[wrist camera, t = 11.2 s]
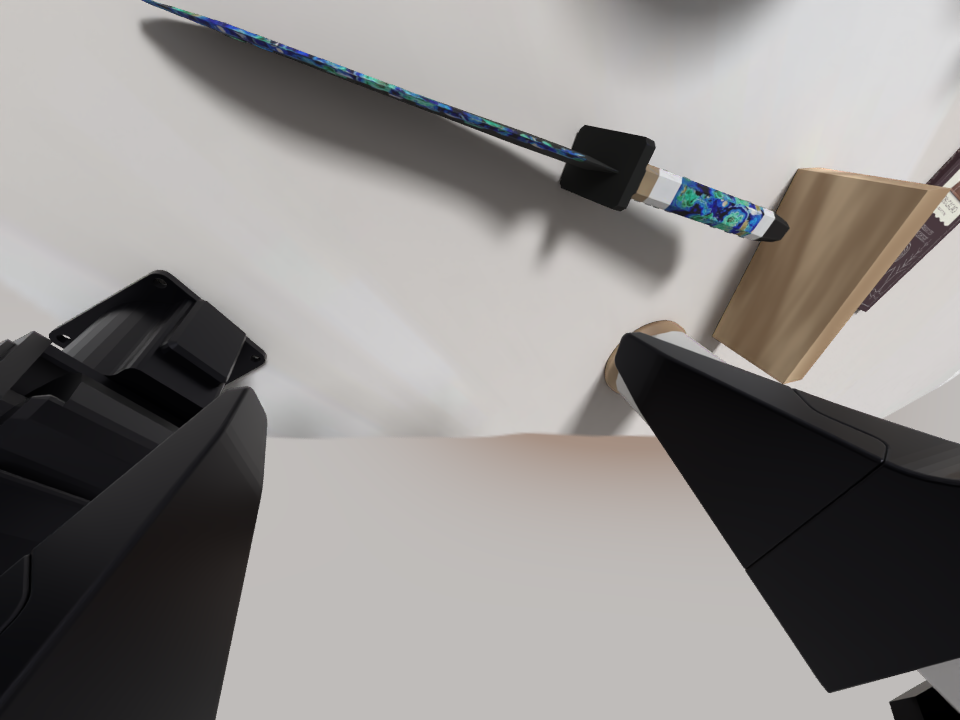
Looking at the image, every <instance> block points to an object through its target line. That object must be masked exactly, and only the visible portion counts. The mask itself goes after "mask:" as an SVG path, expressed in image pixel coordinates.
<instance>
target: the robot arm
mask: <svg viewBox="0 0 960 720" xmlns="http://www.w3.org/2000/svg"><path fill="white" fill-rule="evenodd" d="M157 278H159V279H162V280H164V281H165V282H166V283H167V285H164V284H161V283H159V282H158V281H157ZM63 335H66V336H69V337H70V338H71V339H68V338H66V337H64V336H63ZM49 338H50V340H49V339H47V338H46V337H44V336H42V335H41V334H39V333H37V332H35V331H32V332H30V333H28V334H26V335H24V336H23V337H21V338H19V339H17V340H15V341H13V342H12V341H10V340H8V339H7V340H5V341H2V342H1V343H0V720H215V719H216V714H217V709H218V704H219V699H220V694H221V690H222V685H223V680H224V675H225V670H226V665H227V660H228V655H229V651H230V646H231V641H232V635H233V631H234V626H235V621H236V616H237V611H238V607H239V602H240V597H241V592H242V587H243V582H244V577H245V572H246V567H247V563H248V558H249V553H250V548H251V543H252V538H253V533H254V529H255V523H256V519H257V514H258V509H259V504H260V499H261V493H262V487H263V477H264V463H265V448H266V435H267V417H266V413H265V411H264V409H263V407H262V405H261V403H260V401H259V399H258V397H257V395H256V393H255V392H254V390H253V389H252V388H251V387H248V386H246V387H239V388H232V389H228V390H226V391H224V392H223V393H222V394H221V392H222V390H223V388H224V386H225V385H226V384H228V383H230V382H232V381H233V380H235V379H237V378H239V377H241V376H242V375H244V374H246V373H248V372H249V371H251V370H253V369H255V368H257V367H258V366H260V365H262V364H263V363H264V362H265V359H266V353H265V352H264V351H263V350H262V349H261V348H260V347H259V346H257V345H256V344H255V343H254V342H253V341H251V340H250V339H249V338H248V337H246V334H245V333H244V332H243V331H242V330H241V329H240V328H238V327H237V326H236V325H235V324H234V323H232V322H231V321H230V320H229V319H228V318H226V317H225V316H224V315H223V314H222V313H220V312H219V311H218V310H217V309H216V308H214V307H213V306H212V305H211V304H210V303H208V302H207V301H204V300H202V299H201V298H200V297H198V296H197V295H196V294H195V293H193V292H192V291H191V290H190V289H189V288H187V287H186V286H185V285H184V284H183V283H181V282H180V281H179V280H178V279H177V278H175V277H174V276H173V275H172V274H170V273H168V272H166V271H163V270H156V271H153V272H151V273H149V274H148V275H146V276H144V277H142V278H141V279H139V280H137V281H136V282H134V283H132V284H130V285H129V286H127V287H125V288H124V289H122V290H120V291H118V292H117V293H115V294H113V295H112V296H110V297H108V298H106V299H105V300H103V301H101V302H100V303H98V304H96V305H94V306H93V307H91V308H89V309H88V310H86V311H84V312H82V313H81V314H79V315H77V316H76V317H74V318H72V319H70V320H69V321H67V322H65V323H64V324H62V325H60V326H58V327H57V328H55V329H54V330H53V331H52V332H51V333H50V334H49ZM52 342H53V343H55V344H56V345H58V346H60V347H62V348H63V350H62V351H61V350H59V349H58V348H56V347H54V346H52V345H51V343H52ZM253 355H256V356H258V357H259V358H254V357H252V356H253ZM614 361H615V366H616V368H617V370H618V372H619V374H620V376H621V377H622V379H623V381H624V383H625V385H626V387H627V389H628V391H629V393H630V394H631V396H632V398H633V400H634V402H635V404H636V406H637V407H638V409H639V411H640V413H641V414H642V416H643V417H644V419H645V420H646V422H647V423H648V425H649V426H650V428H651V429H652V431H653V432H654V434H655V435H656V437H657V438H658V440H659V441H660V443H661V444H662V446H663V447H664V449H665V450H666V452H667V453H668V455H669V456H670V458H671V459H672V461H673V462H674V464H675V465H676V467H677V468H678V470H679V471H680V473H681V474H682V476H683V477H684V479H685V480H686V482H687V483H688V485H689V486H690V488H691V489H692V491H693V492H694V494H695V495H696V497H697V498H698V500H699V501H700V503H701V504H702V506H703V507H704V509H705V511H706V512H707V513H708V515H709V516H710V518H711V520H712V521H713V523H714V524H715V525H716V527H717V528H718V530H719V532H720V533H721V535H722V536H723V538H724V539H725V541H726V542H727V544H728V545H729V546H730V548H731V550H732V551H733V553H734V554H735V556H736V557H737V559H738V560H739V562H740V563H741V564H742V566H743V567H744V568H745V571H746V573H747V574H748V576H749V577H750V579H751V580H752V582H753V583H754V585H755V586H756V588H757V589H758V591H759V592H760V594H761V595H762V597H763V598H764V600H765V601H766V602H767V604H768V606H769V607H770V609H771V610H772V612H773V613H774V615H775V616H776V618H777V619H778V621H779V622H780V624H781V625H782V627H783V628H784V630H785V631H786V633H787V634H788V636H789V637H790V639H791V640H792V642H793V643H794V645H795V646H796V648H797V649H798V651H799V652H800V654H801V655H802V657H803V658H804V660H805V661H806V663H807V664H808V666H809V667H810V669H811V670H812V672H813V673H814V675H815V676H816V678H817V679H818V681H819V682H820V683H821V685H822V686H823V687H824V688H825V690H826V691H827V692H828V693H832V692H836V691H840V690H843V689H847V688H851V687H854V686H858V685H861V684H866V683H869V682H873V681H876V680H880V679H884V678H888V677H891V676H895V675H899V674H903V673H906V672H910V671H914V670H917V671H918V672H919V673H920V674H921V675H922V676H923V677H924V678H925V679H926V681H924V682H923V683H921V684H919V685H917V686H916V687H914V688H912V689H910V690H909V691H907V692H905V693H904V694H902V695H900V696H899V697H897V698H895V699H893V700H892V701H890V702H889V703H890V706H891V709H892V713H893V716H894V719H895V720H960V444H959V443H955V442H952V441H948V440H945V439H942V438H939V437H936V436H933V435H930V434H927V433H924V432H921V431H918V430H914V429H911V428H908V427H905V426H902V425H899V424H896V423H893V422H890V421H887V420H884V419H881V418H878V417H875V416H872V415H869V414H866V413H863V412H860V411H857V410H854V409H851V408H848V407H845V406H842V405H839V404H836V403H833V402H831V401H828V400H825V399H822V398H819V397H816V396H814V395H811V394H808V393H805V392H803V391H800V390H797V389H794V388H793V389H791V388H790V387H789V386H786V385H783V384H781V383H778V382H775V381H773V380H770V379H767V378H764V377H762V376H759V375H756V374H754V373H751V372H748V371H745V370H743V369H740V368H737V367H734V366H732V365H729V364H726V363H724V362H721V361H718V360H715V359H713V358H710V357H707V356H705V355H702V354H699V353H696V352H694V351H691V350H688V349H685V348H683V347H680V346H677V345H675V344H672V343H669V342H666V341H664V340H661V339H658V338H656V337H653V336H650V335H647V334H645V333H642V332H632V333H626V334H624V335H623V337H622V338H621V341H620V344H619V347H618V349H617V352H616V355H615V359H614Z"/></svg>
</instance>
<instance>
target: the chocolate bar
mask: <svg viewBox="0 0 960 720" xmlns="http://www.w3.org/2000/svg"><path fill="white" fill-rule="evenodd" d="M926 184H927V185H934V186H940V187H946V188H952V189H951V190H950V191H949V193H948V194H947V195H946V196H945V198H944V199H943V200H942V202H941V203H940V204H939V205H938V207H937V208H936V209H935V210H934V212H933V213H932V214H931V216H930V217H929V218H928V219H927V221H926V222H925V223H924V224H923V226H922V227H921V228H920V230H919V231H918V232H917V233H916V235H915V236H914V237H913V238H912V240H911V241H910V242H909V244H908V245H907V246H906V247H905V249H904V250H903V251H902V252H901V254H900V255H899V256H898V258H897V259H896V260H895V261H894V263H893V264H892V265H891V266H890V268H889V269H888V270H887V271H886V273H885V274H884V275H883V277H882V278H881V279H880V280H879V282H878V283H877V284H876V285H875V287H874V288H873V289H872V291H871V292H870V293H869V294H868V296H867V297H866V298H865V299H864V301H863V302H862V303H861V305H860V306H859V307H858V309H860V310H862V311H865V312H866V311H868V310H869V309H870V308H871V307H872V306H873V305H874V304H875V303H876V302H877V301H878V300H879V299H880V298H881V297H882V296H883V295H884V294H885V293H886V292H888V291H889V290H890V289H891V288H892V287H893V286H894V285H895V284H896V283H897V282H898V281H899V280H900V279H901V278H902V277H903V276H904V275H905V274H906V273H907V272H909V271H910V270H911V269H912V268H913V267H914V266H915V265H916V264H917V263H918V262H919V261H920V260H921V259H922V258H923V257H924V256H925V255H926V254H927V253H928V252H930V251H931V250H932V249H933V248H934V247H935V246H936V245H937V244H938V243H939V242H940V241H941V240H942V239H943V238H944V237H945V236H946V235H947V234H948V233H949V232H951V231H952V230H953V229H954V228H955V227H956V226H957V225H958V224H959V223H960V148H959V149H958V150H957V151H956V152H955V153H954V155H953V156H952V157H951V158H950V159H949V160H948V161H947V162H946V163H945V164H944V165H943V166H942V167H941V168H940V169H939V170H938V171H937V173H936V174H935V175H934V176H933V177H932V178H931V179H930V180H929V181H928V182H927V183H926Z"/></svg>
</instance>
